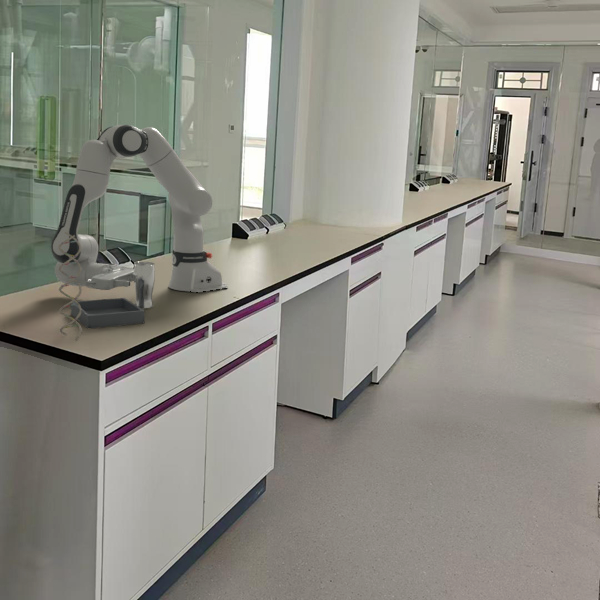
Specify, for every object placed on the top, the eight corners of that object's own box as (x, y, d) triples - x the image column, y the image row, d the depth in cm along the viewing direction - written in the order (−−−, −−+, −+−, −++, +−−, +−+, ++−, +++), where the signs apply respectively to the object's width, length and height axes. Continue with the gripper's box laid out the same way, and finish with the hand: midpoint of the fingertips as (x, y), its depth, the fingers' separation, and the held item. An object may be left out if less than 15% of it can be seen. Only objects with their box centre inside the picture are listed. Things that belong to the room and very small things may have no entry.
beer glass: (132, 304, 248) (132, 261, 244) (152, 304, 250) (153, 261, 247) (134, 309, 241) (135, 265, 238) (156, 309, 244) (156, 265, 240)
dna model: (54, 336, 207) (53, 232, 200) (75, 333, 212) (74, 231, 205) (65, 342, 203) (64, 235, 196) (86, 339, 207) (86, 234, 200)
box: (124, 309, 241) (124, 297, 240) (144, 323, 227) (144, 310, 226) (70, 314, 231) (70, 301, 230) (88, 328, 217) (88, 315, 216)
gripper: (82, 272, 238) (120, 277, 234) (115, 262, 257) (151, 267, 253) (82, 291, 239) (120, 296, 236) (115, 280, 258) (150, 284, 255)
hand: (136, 281), depth 245 cm, fingers open, 8 cm apart
